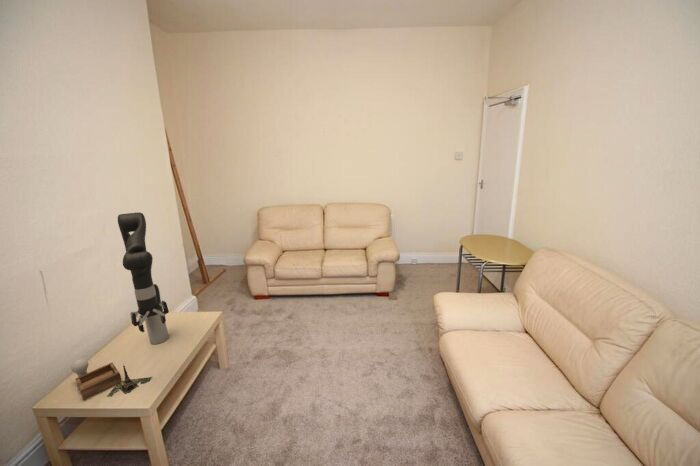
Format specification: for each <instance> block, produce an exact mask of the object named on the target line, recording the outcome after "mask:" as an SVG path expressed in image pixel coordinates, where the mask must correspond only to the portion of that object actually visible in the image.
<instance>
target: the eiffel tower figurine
mask: <svg viewBox="0 0 700 466" xmlns="http://www.w3.org/2000/svg"><path fill="white" fill-rule="evenodd" d="M122 368H123V372H124V380H122V382H121V383H119V384H117V385H115V386H113V387H112V389H111V391H110V392H109V393H108V394H107V395H106V397H108V398H109V397H110V398H113V396H114V395H115V394H116V393H118V392H120V391H121V392H122V393H123V394H124V395H126V394H130V393H132V391H133V390H135V389H137V388H139V387H140V385H144V384H147V383H150V382H151V380H152V378H153V376H148V377H141V378H130V376H129V375H128V372H127V370H126V366H125V365H124V364H123V366H122ZM139 384H140V385H139Z"/></svg>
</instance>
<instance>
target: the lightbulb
mask: <svg viewBox="0 0 700 466" xmlns="http://www.w3.org/2000/svg"><path fill="white" fill-rule="evenodd" d="M88 367H89V361H88V360H87V359H85V358H79V359H76V360H75V361H74V362H73V363H72V364H71V367H70V369H71V372H73V373H74V374H76V375H77V378H78V377H80V376H82V375H85V374H87V373H88Z"/></svg>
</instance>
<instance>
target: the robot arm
mask: <svg viewBox="0 0 700 466" xmlns="http://www.w3.org/2000/svg"><path fill="white" fill-rule="evenodd" d="M117 224H118V228H119V230H120V233H121V234H120V235H121V237H122V241H123V244H124V247H125V248H124V249H125V253H124V255H123V257H122V266H123V268H124V269H125V270H127V271H130V274H131V278H132V279H131V280H132V285H133V289H134V295H135V299H136V304H137V308H138V310H137V311H132V312H130V319H131V324H132V325H133V326H134V327H137V328H138V330H139V332H141V333H145V328H144V324H143V323H144V322H145V326H146V330H147V335H148V340H149V343H150V344H151V345H158V344H162V343H164V342H165V341H167V340H168V339H169V333H168V332H169V331H168V327H167V323H166V321H167V320H166V315H167V314H169V313H170V311H169V308H168V304H167V302H166V301H165V300H161V292H160V287H159V286H158V285H157V284H156V283H154V282H153V278H152V267H153V255H152V253H151V252H150V251H148V250H147V246H146V235H147V234H146V233H147V221H146V217H145V215H144V214H143V213H142V212H139V211H138V212H127V213H122V214H118V215H117ZM138 315H139V317H138ZM137 317H138V320H137Z"/></svg>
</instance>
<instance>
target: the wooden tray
mask: <svg viewBox="0 0 700 466" xmlns="http://www.w3.org/2000/svg"><path fill="white" fill-rule="evenodd" d="M122 381H123V380H122V376H121V374H120V372H119V369H118V368H117V367H116V365H115V364H114V363H113V362H110V363H108V364H105V365H103V366H101V367H98V368H96V369H94V370H91V371H89V372H87V374H85V375H82V376H80V377H78V376H77V377H75V383H76V386H77V389H78V391H79V392H80V395H81V397H82V399H83V401H86V400H88V399H90V398H92V397H94V396H96V395H98V394H100V393H102V392H104V391H106V390H108V389H110V388H114V387H115V385H117V384H119V383H121V382H122Z"/></svg>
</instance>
